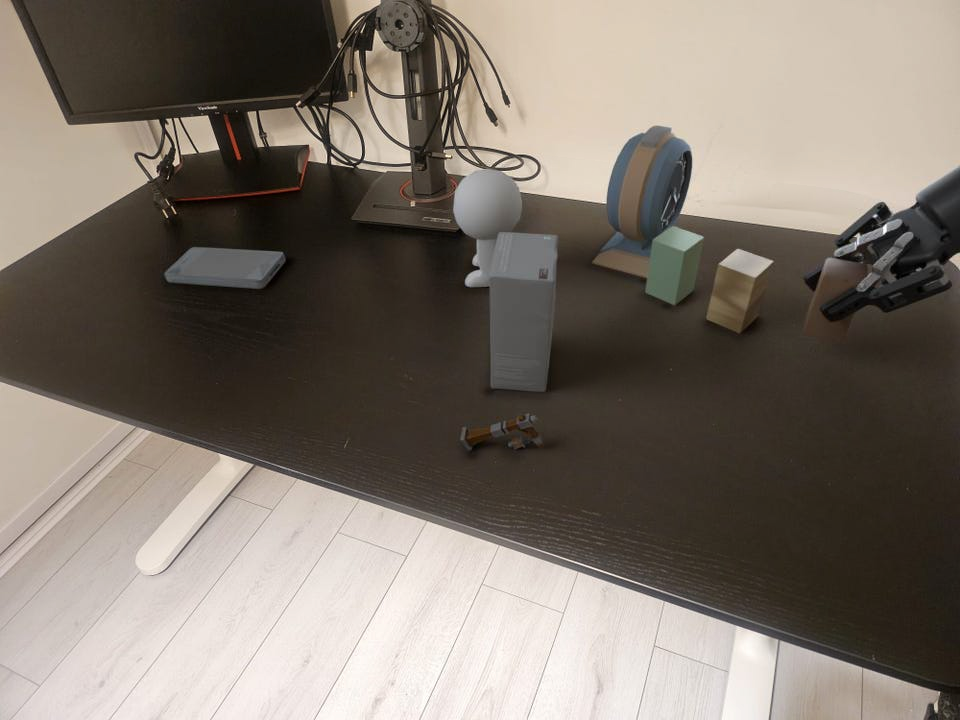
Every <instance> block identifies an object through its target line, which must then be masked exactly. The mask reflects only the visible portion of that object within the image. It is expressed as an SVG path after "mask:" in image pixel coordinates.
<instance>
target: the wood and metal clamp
mask: <svg viewBox="0 0 960 720" xmlns="http://www.w3.org/2000/svg"><path fill="white" fill-rule="evenodd" d="M536 422H538V418H537V416H536V415H534V414H533V415H531V414H530V413H526V414H523V413H521V414H518V416H517V418H514V419H513V420H509V421H507V420H503V422H502V421H500V422H497V423H494V424H491V425H490V426H488V427H485V428H483V427H482V428H477V429H469V428H468V427H467V426H462V429H461V436H460V442H461V444H463V446H464V447H465V448H466V449H467V451H468V452H470V451H473V446H475V445H476V444H478V443H480V442H482V441H485V440H487V439H490V438H494V439H495V438H498V437H501V436H505V435H508V434H509V435H510V434H511V432H513V431H518V432H520V436H517V437H511V440H510V441H508V443H507V446H508V447H509V448H513V449H514V451H516V450H517V449H519V448H522V447H523V449H526V445H527V444H528V445H529V444H530V442H534V444H536V446H537V447H538V448H540V447H543V446H544V439H543V438H542V436H541V434H540V433H539V432H538V431H537V430H536V429H535V428H534V424H535V423H536ZM522 433H523V434H526V435H528V436H526V437H525V436H523V434H522ZM529 436H530V437H529Z"/></svg>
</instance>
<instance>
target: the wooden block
mask: <svg viewBox="0 0 960 720" xmlns="http://www.w3.org/2000/svg"><path fill="white" fill-rule="evenodd" d="M824 262H825V264H824V266H823V269H822V272H821V275H820V278H819V281H818V284H817V286H816V289H815V291H813V294H812V298H811V301H810V304H809V306H808V310H807V312H806V314H805V315H806V316H805V320H804V324H803V328H802V333H803V335H804V336H806V337H810V338H814V339H819V340H824V341H828V342H833V343H837V344H841V343H842V342H843V341H844V339H845V338H846V334H847V332H848V329H849V327H850V326H851V322H852V320H853V318H854V315H855V313H856V312H854V313H853V314H851V315H849V316H847V317H846V318H844V319H842V320H839V321H835V322H829V321H828V320H827V319H826V318H825V317H824V316H823V315H822V313H821V311H820V307H821V306H822V305H823V304H825V303H827V302H828V301H830V300H832V299H833V298H835V297H837V296H838V295H840V294H842V293H843V292H845V291H847V290H848V289H850V288H852V287H854V289H855V290H856V288H857V286H858V285H859V284H860V283H861V282H862V281H863V280H864V279H865V278H866V277H867V276H868V275H869V274H868V273H869V266H868V265H869V264H863V263H857V262H852V261H846V260H840V259H835V258H832V257H827V258H826V259H825V261H824Z"/></svg>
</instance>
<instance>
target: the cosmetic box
mask: <svg viewBox="0 0 960 720" xmlns="http://www.w3.org/2000/svg"><path fill="white" fill-rule="evenodd" d="M558 239H559V237H558V235H556V234H543V233H527V232H526V233H525V232H513V231H512V232H499V233H498V237H497V241H496V245H495V249H494V253H493V258H492V262H491V267H490V272H489V280H490V286H489V325H490V326H489V330H490V331H489V335H490V336H489V339H490V340H489V342H490V343H489V344H490V349H489V350H490V360H489V361H490V387H491V389H493V390H507V391H508V390H510V391H522V392H523V391H525V392H537V393H539V392H541V393H544V392H545V393H546V391H547V384H548V374H549V366H550V360H551V359H550V358H551V350H552V349H551V348H552V337H553V330H554V329H553V328H554V321H555V320H554V319H555V309H556V288H557V287H556V286H557V285H556V284H557V283H556V282H557V281H556V280H557V261H558V260H557V259H558V257H559V256H558Z"/></svg>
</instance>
